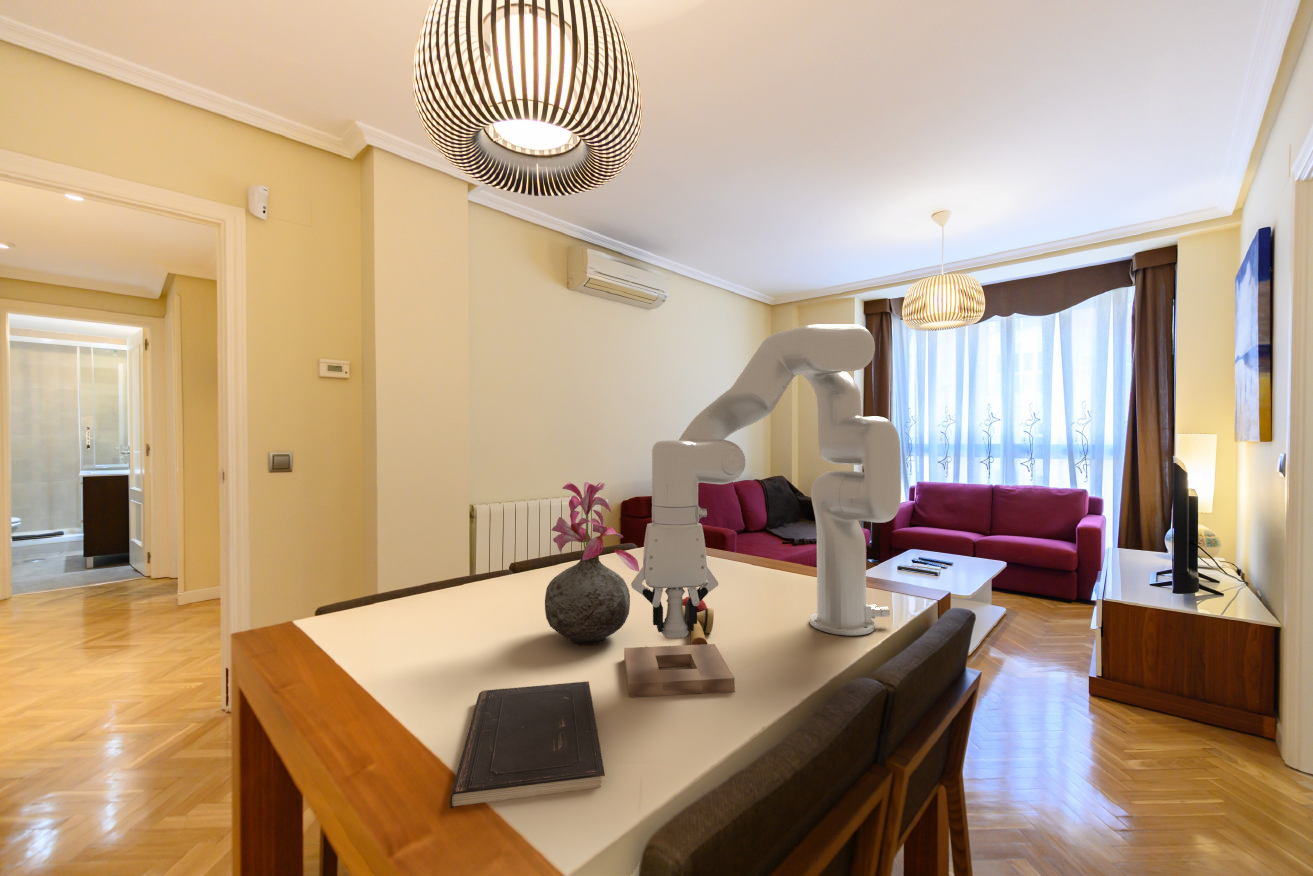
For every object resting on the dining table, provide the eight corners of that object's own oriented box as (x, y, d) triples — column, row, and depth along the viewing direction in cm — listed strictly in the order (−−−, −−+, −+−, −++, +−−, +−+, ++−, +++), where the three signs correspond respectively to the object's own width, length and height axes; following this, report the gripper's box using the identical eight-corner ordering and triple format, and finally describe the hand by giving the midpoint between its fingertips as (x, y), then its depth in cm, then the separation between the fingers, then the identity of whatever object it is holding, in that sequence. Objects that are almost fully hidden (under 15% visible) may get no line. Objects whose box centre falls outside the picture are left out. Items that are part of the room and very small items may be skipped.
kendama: (725, 659, 97) (712, 614, 115) (719, 627, 96) (707, 586, 114) (682, 667, 97) (676, 620, 115) (676, 634, 96) (671, 593, 114)
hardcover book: (588, 696, 81) (588, 681, 81) (604, 794, 59) (604, 772, 59) (478, 706, 78) (478, 690, 78) (449, 814, 56) (449, 791, 56)
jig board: (714, 655, 95) (714, 643, 95) (734, 691, 81) (734, 678, 81) (624, 659, 94) (624, 648, 94) (628, 697, 80) (628, 683, 80)
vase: (540, 629, 109) (539, 481, 110) (623, 620, 115) (622, 478, 115) (550, 660, 93) (549, 487, 94) (646, 648, 99) (645, 484, 99)
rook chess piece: (660, 630, 90) (660, 582, 90) (686, 629, 90) (686, 581, 90) (662, 640, 85) (662, 589, 85) (690, 639, 85) (690, 588, 86)
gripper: (720, 512, 92) (720, 619, 92) (622, 514, 91) (622, 623, 90) (731, 518, 85) (731, 635, 85) (624, 520, 83) (624, 639, 83)
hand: (674, 627), depth 88 cm, fingers closed on rook chess piece, 4 cm apart
